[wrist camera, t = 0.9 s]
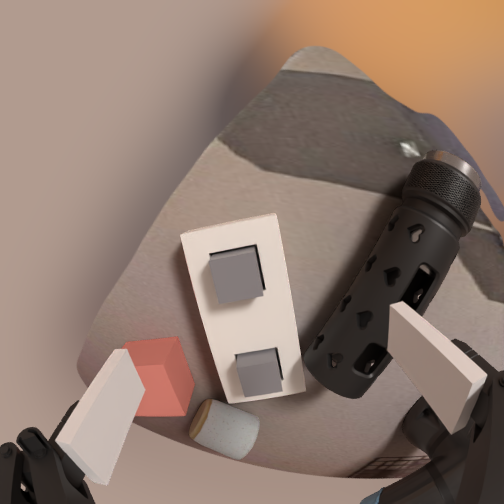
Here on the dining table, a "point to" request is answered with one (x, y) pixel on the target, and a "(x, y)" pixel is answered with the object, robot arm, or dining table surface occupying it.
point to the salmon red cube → (162, 376)
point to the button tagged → (236, 274)
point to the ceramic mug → (224, 428)
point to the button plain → (259, 372)
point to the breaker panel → (246, 303)
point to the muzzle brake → (397, 272)
